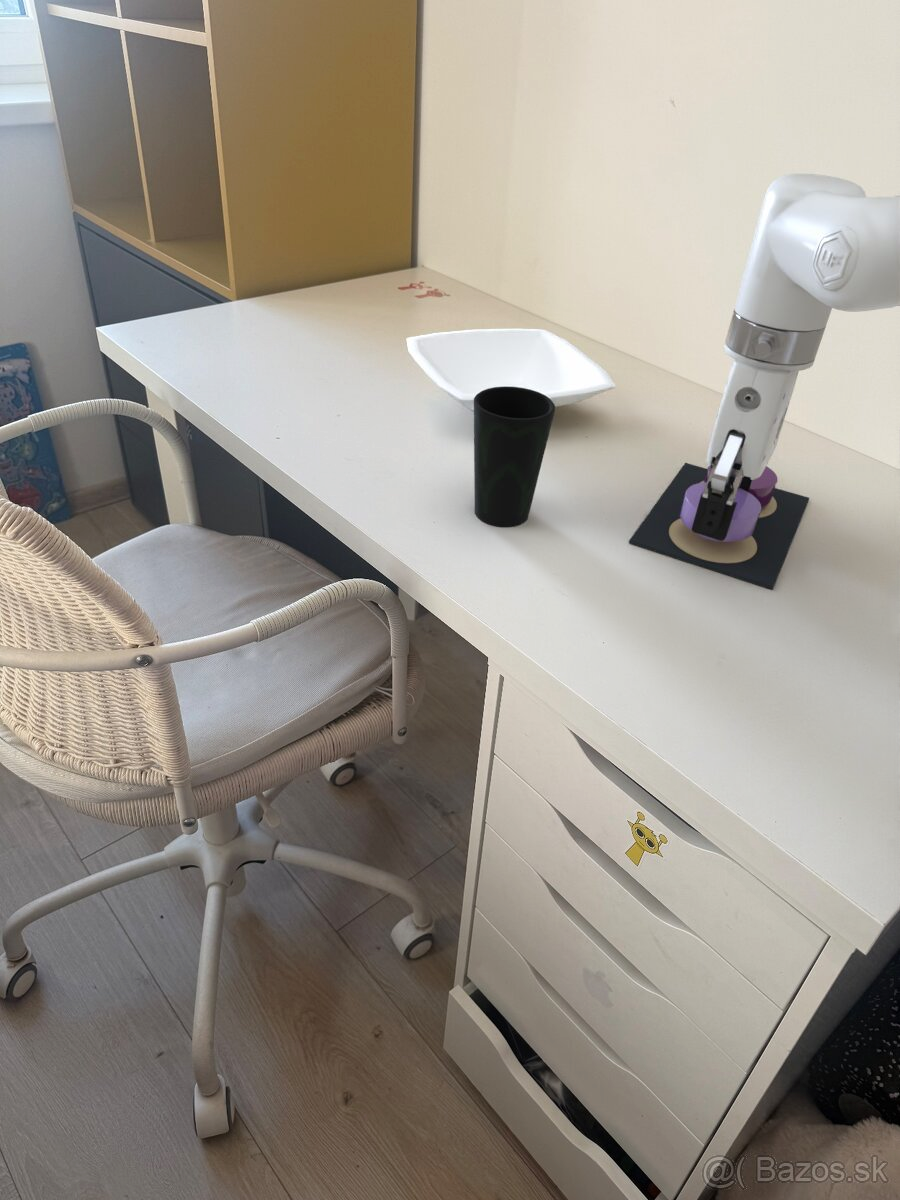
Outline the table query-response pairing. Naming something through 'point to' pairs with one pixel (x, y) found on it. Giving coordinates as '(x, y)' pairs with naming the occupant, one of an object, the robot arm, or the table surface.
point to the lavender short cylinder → (742, 516)
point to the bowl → (508, 364)
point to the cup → (508, 452)
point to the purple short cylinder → (760, 485)
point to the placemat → (738, 559)
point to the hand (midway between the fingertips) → (718, 516)
